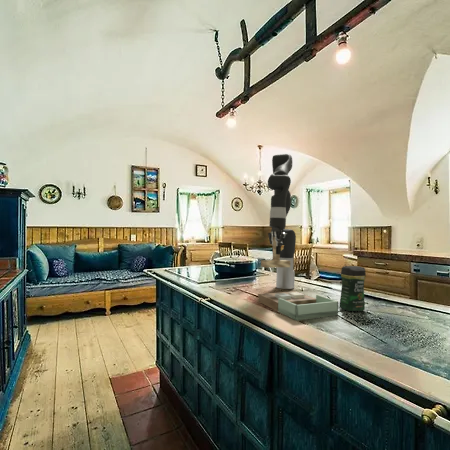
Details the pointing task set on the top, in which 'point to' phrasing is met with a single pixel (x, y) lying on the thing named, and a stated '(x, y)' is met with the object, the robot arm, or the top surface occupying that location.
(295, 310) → the box
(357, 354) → the top surface
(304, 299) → the walnut plate
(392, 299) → the top surface
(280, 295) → the grey tile
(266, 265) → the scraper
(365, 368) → the top surface
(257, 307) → the top surface
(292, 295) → the cream tile
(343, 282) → the coffee jar
